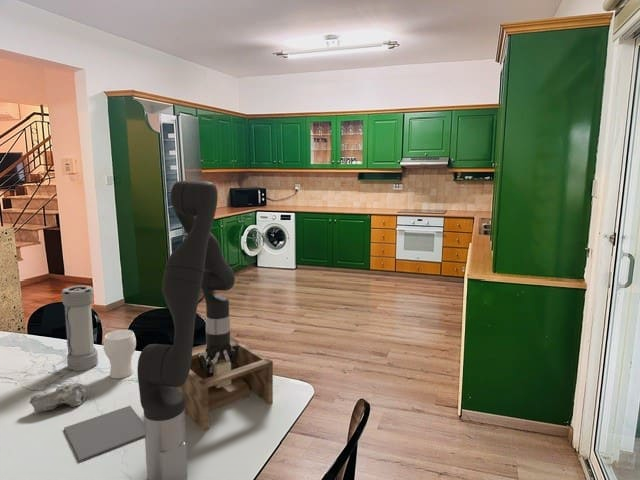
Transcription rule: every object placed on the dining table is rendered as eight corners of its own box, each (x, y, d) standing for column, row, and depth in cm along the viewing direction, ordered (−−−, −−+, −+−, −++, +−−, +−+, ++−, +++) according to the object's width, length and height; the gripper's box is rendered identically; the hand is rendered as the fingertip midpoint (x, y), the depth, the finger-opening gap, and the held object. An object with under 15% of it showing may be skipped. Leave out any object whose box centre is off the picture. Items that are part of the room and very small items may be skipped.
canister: (61, 369, 157) (54, 290, 152) (83, 358, 167) (78, 284, 162) (82, 373, 154) (76, 293, 149) (104, 361, 164) (99, 286, 159)
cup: (125, 382, 148) (122, 341, 146) (98, 378, 150) (95, 338, 148) (143, 368, 159) (141, 330, 156) (118, 365, 161) (116, 328, 158)
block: (231, 383, 137) (230, 363, 136) (217, 388, 133) (216, 367, 132) (220, 375, 142) (220, 355, 141) (206, 380, 139) (206, 359, 138)
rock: (34, 421, 124) (32, 400, 123) (30, 411, 130) (28, 391, 129) (92, 403, 135) (91, 383, 134) (86, 394, 140) (84, 375, 139)
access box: (272, 402, 137) (272, 361, 135) (203, 430, 121) (202, 385, 119) (231, 373, 156) (231, 337, 154) (167, 394, 141) (166, 354, 138)
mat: (151, 434, 119) (151, 432, 119) (79, 461, 108) (79, 459, 108) (130, 407, 133) (130, 405, 133) (64, 429, 121) (64, 427, 121)
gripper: (202, 338, 128) (203, 390, 130) (243, 327, 137) (244, 377, 140) (191, 331, 133) (192, 381, 136) (232, 321, 143) (232, 369, 145)
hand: (218, 379), depth 138 cm, fingers closed on block, 5 cm apart
